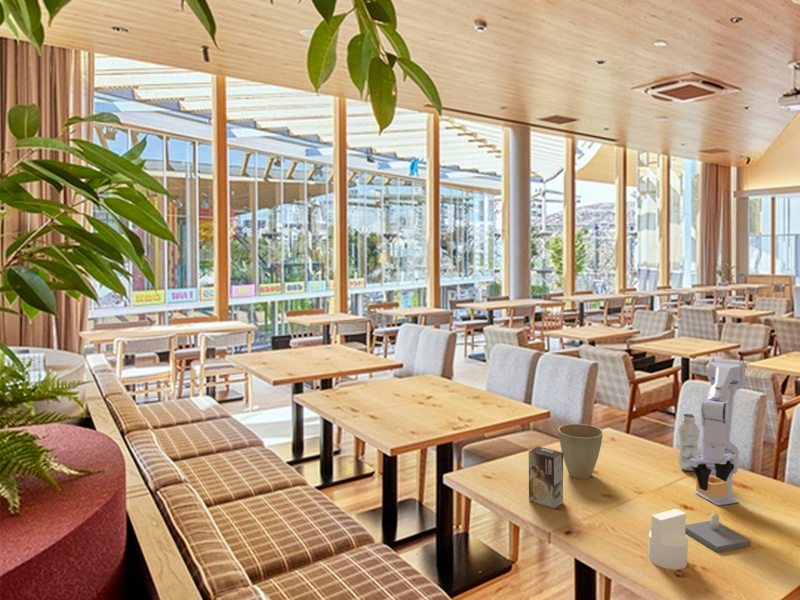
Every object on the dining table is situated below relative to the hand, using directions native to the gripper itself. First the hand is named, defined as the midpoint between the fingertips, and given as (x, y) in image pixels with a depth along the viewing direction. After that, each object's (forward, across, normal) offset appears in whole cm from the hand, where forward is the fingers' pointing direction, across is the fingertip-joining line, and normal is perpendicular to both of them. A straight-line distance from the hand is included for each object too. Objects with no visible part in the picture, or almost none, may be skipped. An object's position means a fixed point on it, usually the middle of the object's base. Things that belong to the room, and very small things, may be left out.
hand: (711, 487), depth 166 cm
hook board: (+10, -7, -9) cm, 15 cm away
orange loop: (+2, 0, 0) cm, 2 cm away
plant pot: (+10, -17, +40) cm, 45 cm away
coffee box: (+10, -39, +25) cm, 47 cm away
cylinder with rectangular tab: (+10, -27, -14) cm, 32 cm away
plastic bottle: (+9, +22, +32) cm, 40 cm away
